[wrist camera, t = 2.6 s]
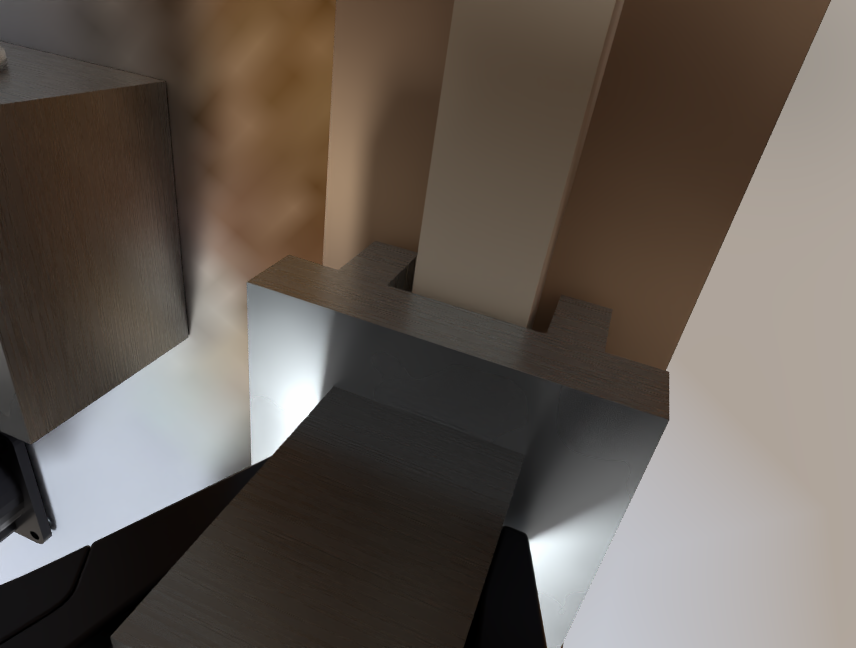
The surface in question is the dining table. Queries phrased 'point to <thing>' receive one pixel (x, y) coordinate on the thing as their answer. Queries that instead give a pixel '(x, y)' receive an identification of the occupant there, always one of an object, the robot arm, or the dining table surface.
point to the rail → (556, 148)
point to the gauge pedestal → (82, 235)
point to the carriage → (407, 466)
